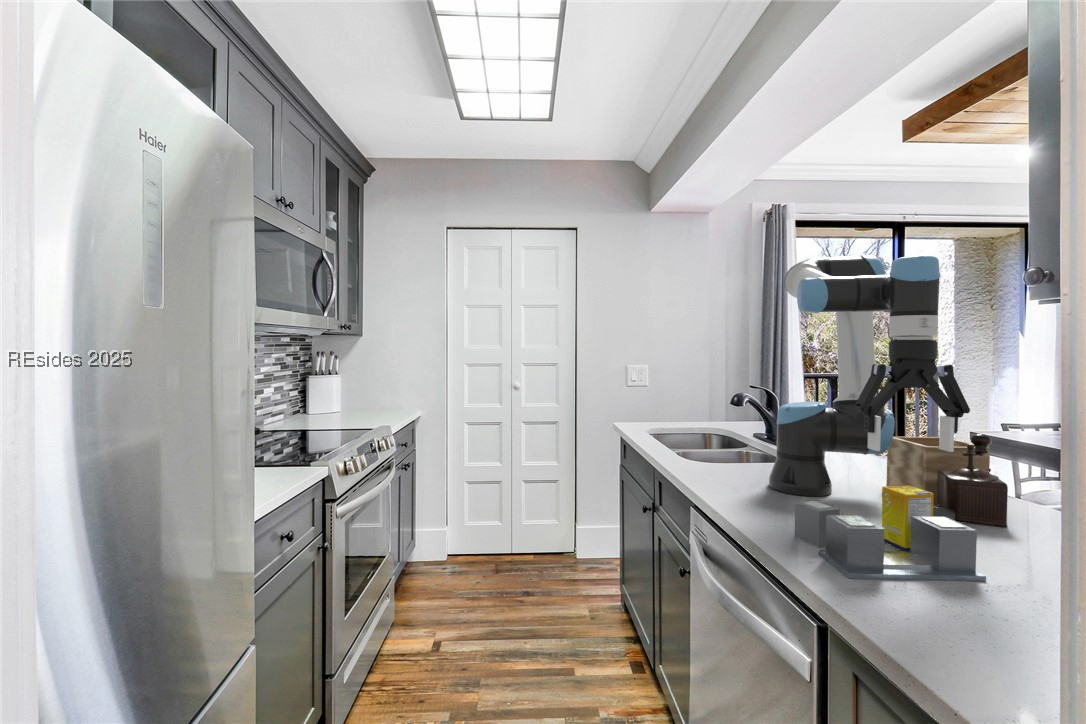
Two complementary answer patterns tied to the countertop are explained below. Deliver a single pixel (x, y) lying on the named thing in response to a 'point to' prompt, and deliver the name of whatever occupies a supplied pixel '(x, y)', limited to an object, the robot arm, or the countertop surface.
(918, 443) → the bottle crate
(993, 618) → the countertop surface
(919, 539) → the rail panel
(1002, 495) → the manual coffee grinder
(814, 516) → the module
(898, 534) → the supplement box
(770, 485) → the robot arm
